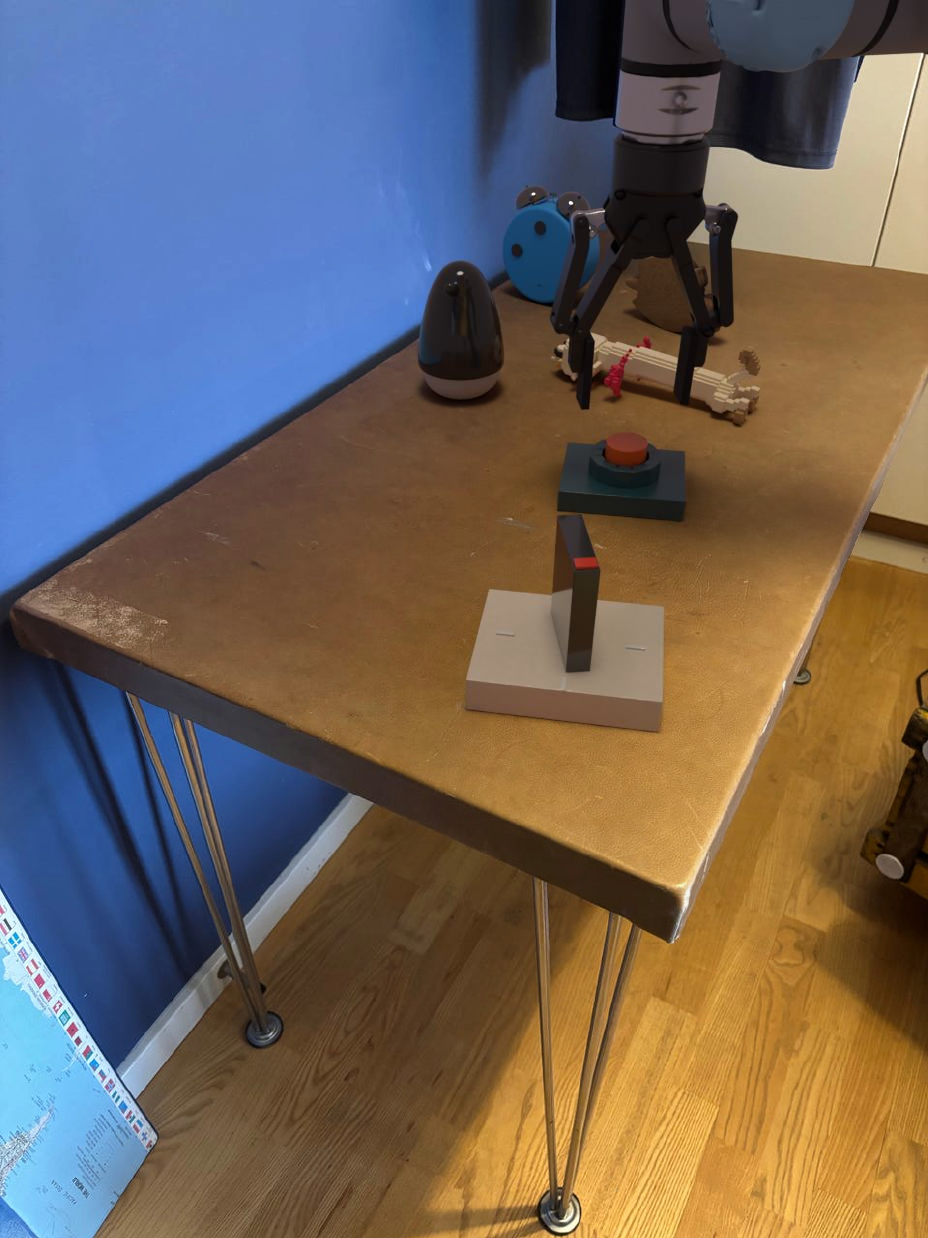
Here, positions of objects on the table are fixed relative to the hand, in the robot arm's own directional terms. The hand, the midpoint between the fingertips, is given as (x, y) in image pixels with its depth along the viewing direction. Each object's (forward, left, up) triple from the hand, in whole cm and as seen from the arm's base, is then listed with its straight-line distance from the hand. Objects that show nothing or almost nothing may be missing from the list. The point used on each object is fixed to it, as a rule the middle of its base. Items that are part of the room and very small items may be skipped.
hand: (631, 400), depth 85 cm
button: (0, 0, -6) cm, 6 cm away
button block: (0, 0, -10) cm, 10 cm away
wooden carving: (-5, -44, -10) cm, 45 cm away
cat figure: (-2, -23, -10) cm, 25 cm away
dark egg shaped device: (+20, -20, -10) cm, 30 cm away
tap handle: (+3, +28, -7) cm, 29 cm away
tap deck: (+3, +28, -10) cm, 30 cm away
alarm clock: (+13, -53, -10) cm, 55 cm away
